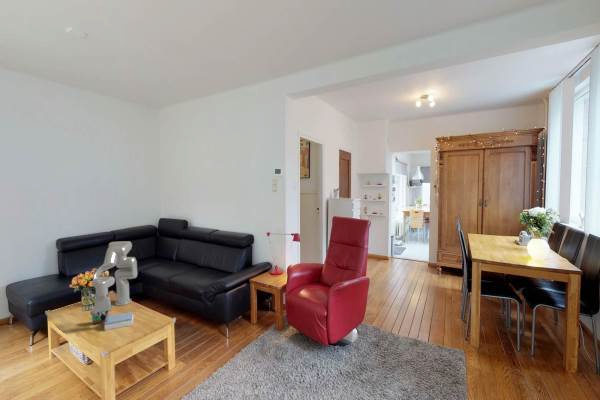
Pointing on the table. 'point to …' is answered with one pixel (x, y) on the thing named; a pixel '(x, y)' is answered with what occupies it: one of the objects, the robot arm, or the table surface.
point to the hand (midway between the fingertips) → (103, 319)
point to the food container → (97, 318)
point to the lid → (118, 318)
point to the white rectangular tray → (118, 324)
